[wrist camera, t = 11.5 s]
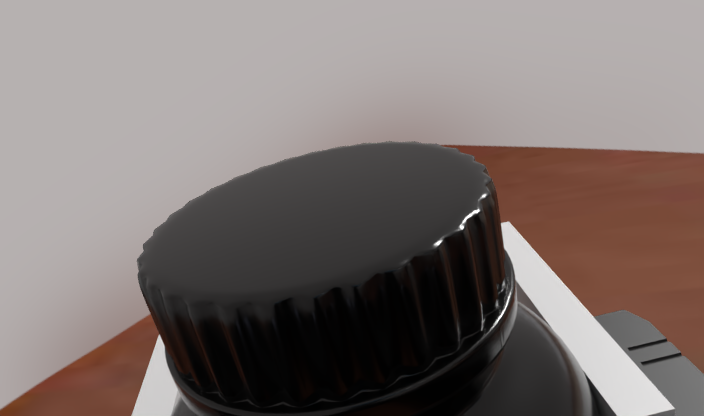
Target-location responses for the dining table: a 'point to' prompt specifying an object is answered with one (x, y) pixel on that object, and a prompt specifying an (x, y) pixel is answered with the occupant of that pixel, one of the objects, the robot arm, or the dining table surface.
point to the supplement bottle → (353, 294)
